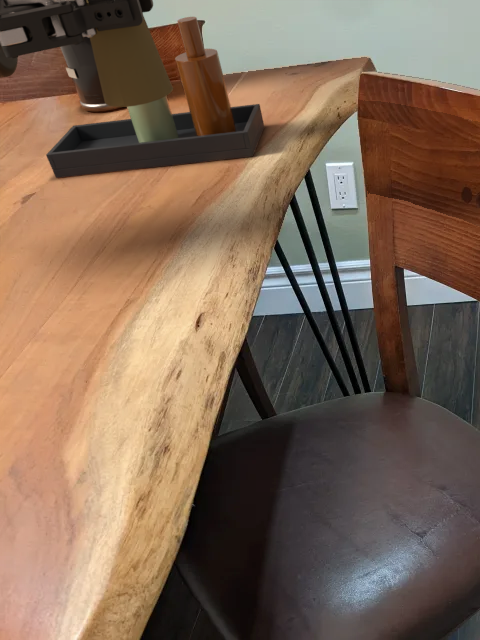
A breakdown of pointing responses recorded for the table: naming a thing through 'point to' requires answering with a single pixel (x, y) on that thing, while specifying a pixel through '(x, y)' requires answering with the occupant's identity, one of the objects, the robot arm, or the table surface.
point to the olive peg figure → (129, 66)
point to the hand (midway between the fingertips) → (143, 0)
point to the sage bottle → (153, 121)
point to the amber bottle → (203, 83)
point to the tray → (151, 145)
